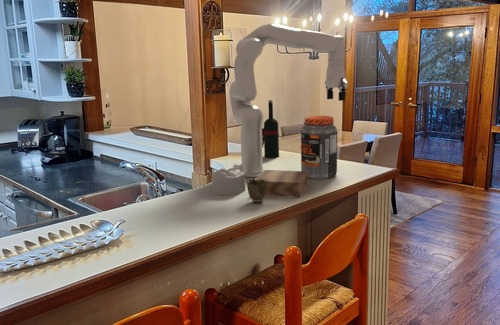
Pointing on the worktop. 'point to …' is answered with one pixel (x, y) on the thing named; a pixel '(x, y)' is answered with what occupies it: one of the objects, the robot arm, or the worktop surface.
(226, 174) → the grey studded block
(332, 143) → the supplement tub
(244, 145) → the robot arm
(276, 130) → the wine bottle
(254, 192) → the cup
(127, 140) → the worktop surface
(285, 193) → the walnut block
